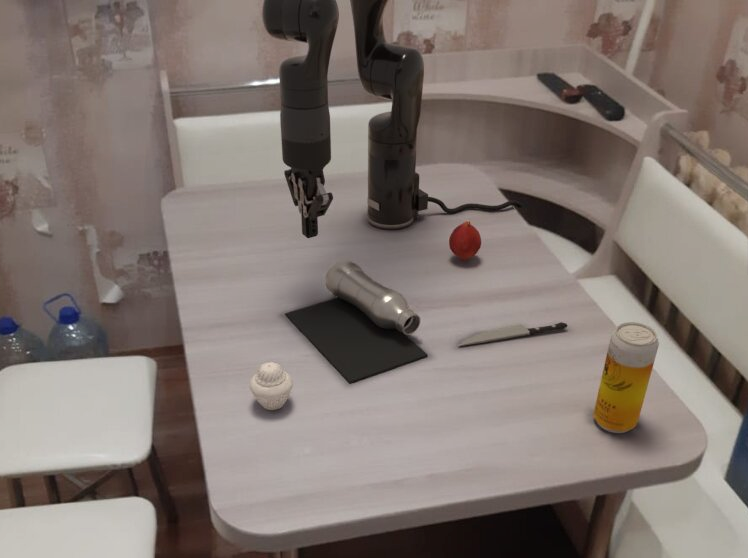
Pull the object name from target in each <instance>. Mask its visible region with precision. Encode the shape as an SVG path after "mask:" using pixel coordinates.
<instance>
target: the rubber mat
mask: <svg viewBox="0 0 748 558" xmlns="http://www.w3.org/2000/svg"><path fill="white" fill-rule="evenodd" d="M284 314H285V317H286V318H288V320H289V321H290V322H291V323H292V324H293V325H294V327H296V328H297V329H298V330H299V331H300V332H301V333H302V335H304V337H305V338H306V339H307V341H309V342H310V343H311V344H312V346H314V347H315V348H316V349H317V351H318V352H319V353H320V354H321V355H322V356H323V357H324V358H325V359H326V361H328V362H329V363H330V364H331V366H332V367H333V368H334V369H335V370H336V371H337V372H338V373H339V374H340V375H341V376H342V377H343V378H344V379H345V380H346V382H347V383H348V384H353V383H357V382H359V381H362V380H364V379H368V378H371V377H373V376H377V375H379V374H381V373H384V372H388V371H390V370H393V369H397V368H399V367H402V366H404V365H407V364H411V363H413V362H417V361H419V360H421V359H424V358H427V357H428V353H427V352H426V351H425V350H423V349H422V348H421V347H420V346H419V345H418V344H417V343H415V342H414V341H413V339H411V338H410V337H409V336H408V335H406V334H404V333H403V332H401V331H399V330H397V329H396V328H394V329H384V328H381V327H379V326H377V325H376V324H375V323H374V322H373V321H372V320H371V319H370V318H369V317H368V316H367V315H366V314H365V313H364V312H362V311H361V310H360V309H359V308H357V307H356V306H355V305H353V304H351V303H349V302H347V301H345V300H343V299H340V298H338V297H335V298H331V299H327V300H325V301H322V302H319V303H314V304H312V305H308V306H305V307H301V308H298V309H295V310H292V311H287V312H285V313H284Z"/></svg>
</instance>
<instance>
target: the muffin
mask: <svg viewBox="0 0 748 558" xmlns="http://www.w3.org/2000/svg"><path fill="white" fill-rule="evenodd" d="M257 369H258V370H257V372H256V373H255V374H254V375H253V376H252V377H251V379H250V381H249V390H250V392H251V394H252V395H253V396H252V397H254V398H255V399H256V401H257V402H258V403H259V404H260V406H261V407H262V408H264V409H265V410H267V411H277V410H279V409H281V408H282V407H283V406H284V405H285V403H286V402H287V400H288V398H289V396H290V394H291V393H292V389H293V379H292V377H291V375H290V374H289V373H287V372H286V371H285V370H284V369H283V367H282V366H281V365H280V364H278V363H277V362H273V361H271V362H269V361H267V362H264V363H263V364H261V365H260V366H259V367H258V368H257Z"/></svg>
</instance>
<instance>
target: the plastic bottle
mask: <svg viewBox="0 0 748 558" xmlns="http://www.w3.org/2000/svg"><path fill="white" fill-rule="evenodd" d="M324 279H325V286H326V289H327V290H328V291H329V293H331V295H333V296H334V297H335V298H340V299H343V300H345V301H347V302H349V303H351V304H353V305H355V306H356V307H357V308H359V309H360V310H361V311H362V312H364V313H365V314H366V315H367V316H368V317H369V318H370V319H371V320H372V321H373V322H374V323H375V324H376V325H377V326H379V327H381V328H384V329H394V328H396V329H397V330H399V331H401V332H403V333H404V334H405V335H406V336H408V335H412V334H414V333H415V332H416V331H417V330H418V329H419V327H420V325H421V317H420V315H419V314H418V313H416V312H415V311H414V310H412V309H411V308H409V307H410V306H409V303H408V301H407V299H406V297H405V296H404V295H403V294H402V293H400V292H399V291H396V290H395V289H392V288H390V287H387V286H384V285H383V284H382V283H380V282H378V281H376V280H374V279H373V278H372V277H370V276H369V274H366V273H365V271H364V270H363V269H362V268H361V267H360V266H359V265H358V264H357V263H355V262H352V261H350V260H348V259H347V260H346V259H343V260H339V261H335V262H334V263H333V264H332V265H330V267H329V268H328V269H327V271H326V274H325V278H324Z"/></svg>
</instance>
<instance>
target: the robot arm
mask: <svg viewBox="0 0 748 558" xmlns="http://www.w3.org/2000/svg"><path fill="white" fill-rule="evenodd" d="M389 1H390V0H349V3H350V9H351V15H352V22H353V32H354V44H355V45H354V46H355V57H356V69H357V76H358V79H359V82H360V85H361V88H362V89H363V91H364V92H365V93H366V94H368V95H369V96H370V95H371V96H372V97H376V98H380V99H384V100H388V101H391V110H390V111H386V112H382V113H381V112H380V113H378V114H376V115H374V116H372V117H371V118H370V119H369V120H368V123H367V212H366V213H367V214H366V220H367V222H368V223H369V224H370V225H372V226H373V227H376V228H379V229H382V230H383V229H384V230H398V229H404V228H406V227H409V226H410V225H412V224H413V223H414V221H418V220H419V219H418V217H419V212H421V211H426V210H428V208H429V207H428V206H429V202H430V203H433V204H436V205H438V206H439V207H440V209H441V210H442V211H443V212H444V213H447V214H457V213H459V212H462V211H464V210H468V209H474V210H475V209H476V210H482V211H495V212H496V211H502V210H503V209H506V208H508V207H511V206H516V207H517V208H520V209H521V208H524V205H523V204H522V203H521V202H520V201H518V200H516V199H512V200H507V201H506V202H504V203H501V204H498V205H489V204H482V203H472V202H471V203H465V204H462V205H459V206H456V207H454V208H448V207H447V205H446V204H445V203H444V202H443V200H441V199H438V198H436V197H432V196H429V194H428V193H427V192H425V191H424V190H422V189H420V174H419V173H418V172H417V171H416V167H417V165H416V164H417V141H418V127H419V124H420V119H421V114H422V100H423V90H424V81H425V62H424V58H423V55H422V53H421V52H420V50H418V49H416V48H415V47H409V46H405V45H399V44H395V43H388V42H387V40H386V37H385V30H384V13H385V11H386V8H387V5H388V2H389ZM261 9H262V10H261V15H262V16H261V17H262V23H263V27H264V29H265V31H266V32H267V34H268V35H269V36H270V37H271V38H273V39H275V40H278V41H283V42H284V41H285V42H293V43H304V44H307V45H308V46H307V47H308V48H307V53H306V54H304V55H298V56H296V55H295V56H292V57H288V58H286V59H284V60H283V61H282V62H281V63H280V64H279V68H278V69H279V70H278V77H279V96H280V111H279V112H280V113H279V123H280V139H281V140H280V141H281V155H282V162H283V163H284V164H285V166H287V167H289V168H290V169H286V170H284V178H285V181H286V184H287V186H288V190H289V193H290V197H291V199H292V202H293V205H294V206H295V207H297V208H298V212H299V215H300V216H301V234H302V235H303V236H304V237H305V238H307V239H310V238H315V237H317V236H319V235H318V234H319V221H318V220H319V217H322V216H325V215H326V213H327V211H328V209H329V208H330V206H331V203H332V202H333V200H334V195H333V193H332V192H331V191H330V192H327V190H326V189H325V184H326V179H325V173H324V169H325V168H326V166H327V165H328V164H330V163H331V160H332V139H331V136H332V135H331V113H330V107H329V91H328V90H329V83H328V81H329V80H328V73H329V66H330V60H331V55H332V49H333V45H334V41H335V37H336V33H337V29H338V25H339V19H340V11H339V10H340V9H339V6H338V2H337V0H263V3H262V8H261Z"/></svg>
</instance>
